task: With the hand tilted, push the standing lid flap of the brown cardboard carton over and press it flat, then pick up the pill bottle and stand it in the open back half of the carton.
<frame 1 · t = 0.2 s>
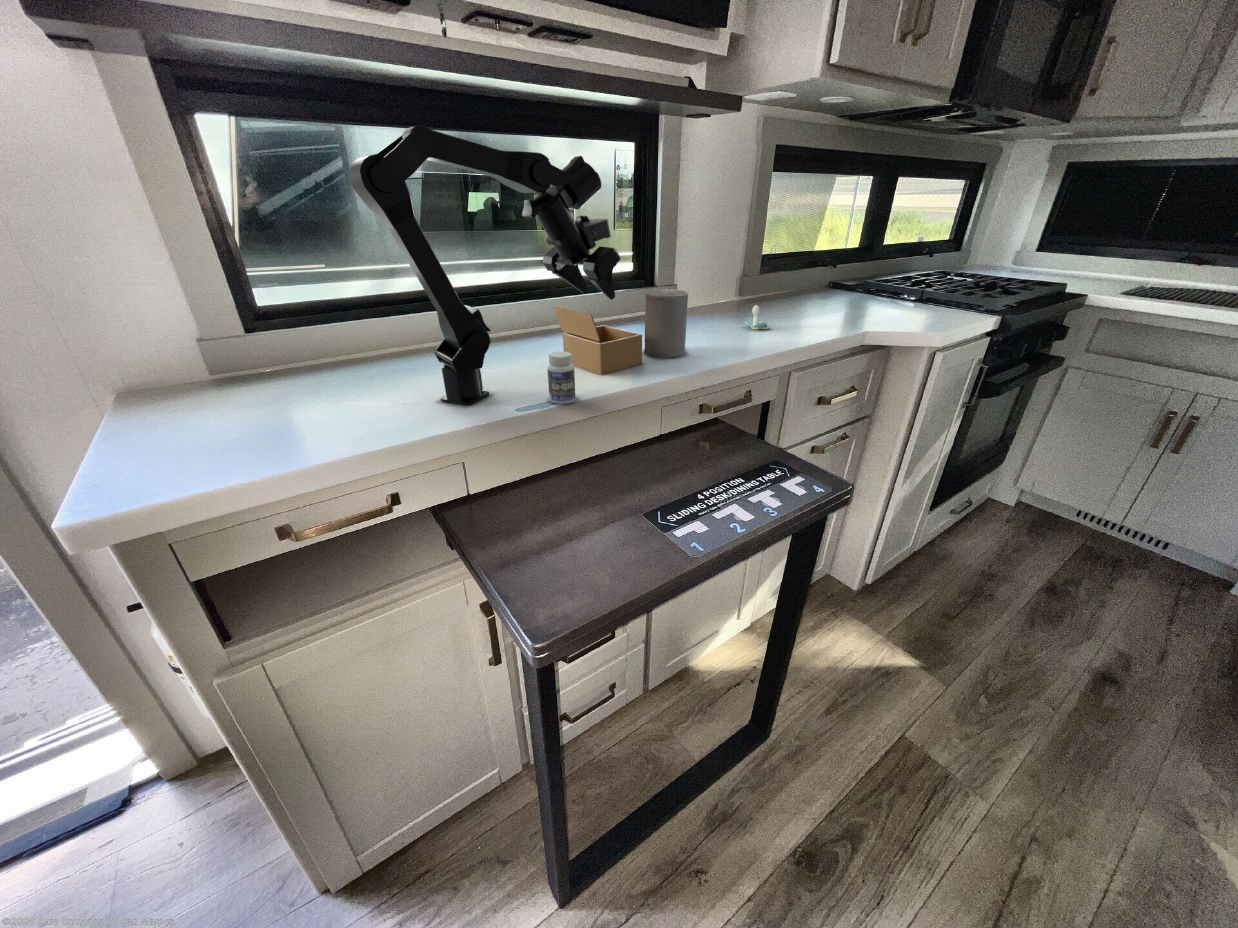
hand: (599, 295, 103), 15 cm above the worktop, tool tilted 35°, fingers open, 9 cm apart
carton: (602, 363, 112), on the worktop
flap: (576, 323, 104), point 10 cm above the worktop, hinge at 110.0°
pacifier: (757, 328, 141), on the worktop
pill bottle: (562, 400, 92), on the worktop
pillar candle: (664, 353, 119), on the worktop
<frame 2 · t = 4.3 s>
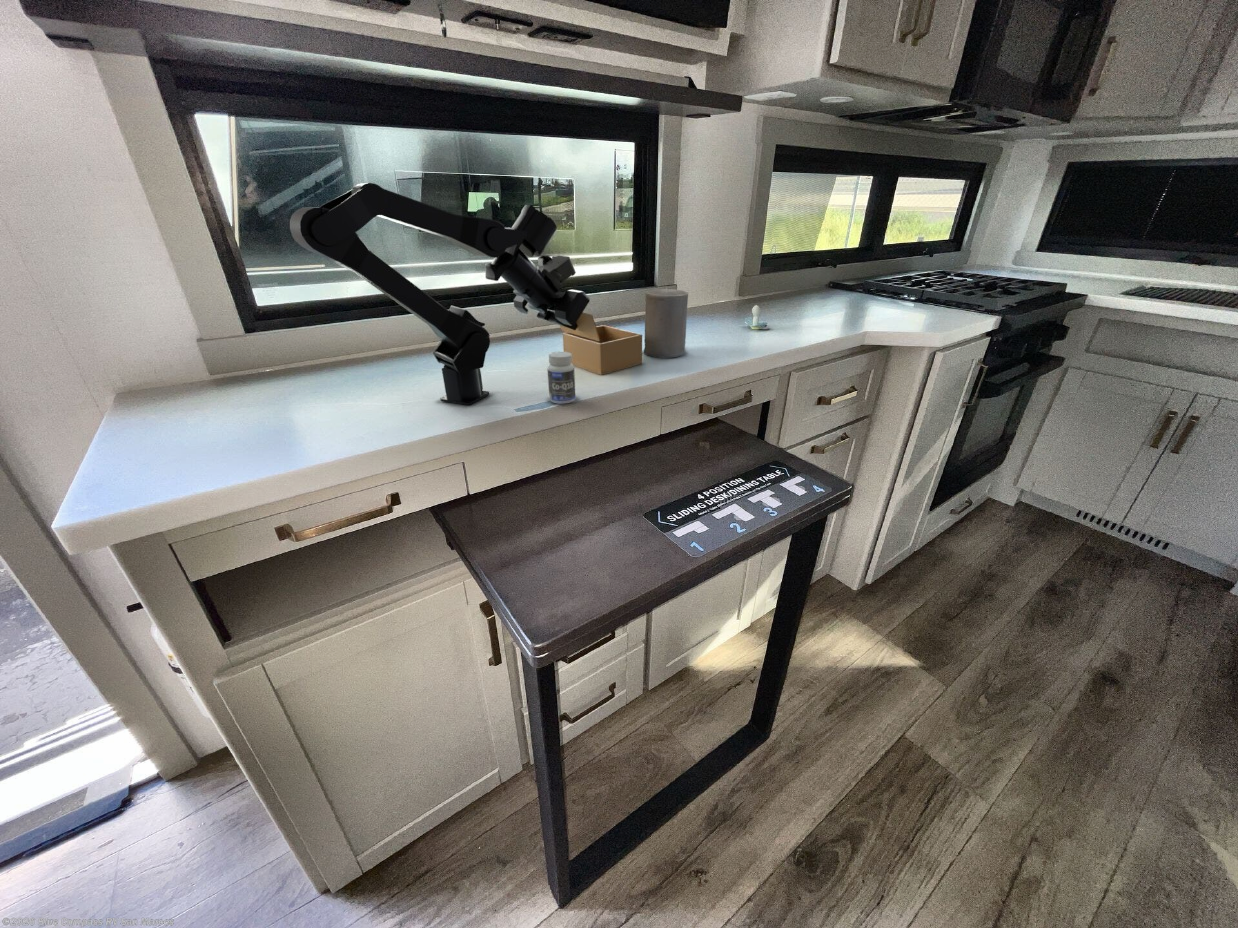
hand: (575, 328, 104), 9 cm above the worktop, tool tilted 45°, fingers closed, pressing on flap
flap: (576, 323, 104), point 10 cm above the worktop, hinge at 109.2°, touching gripper
everything else where it was.
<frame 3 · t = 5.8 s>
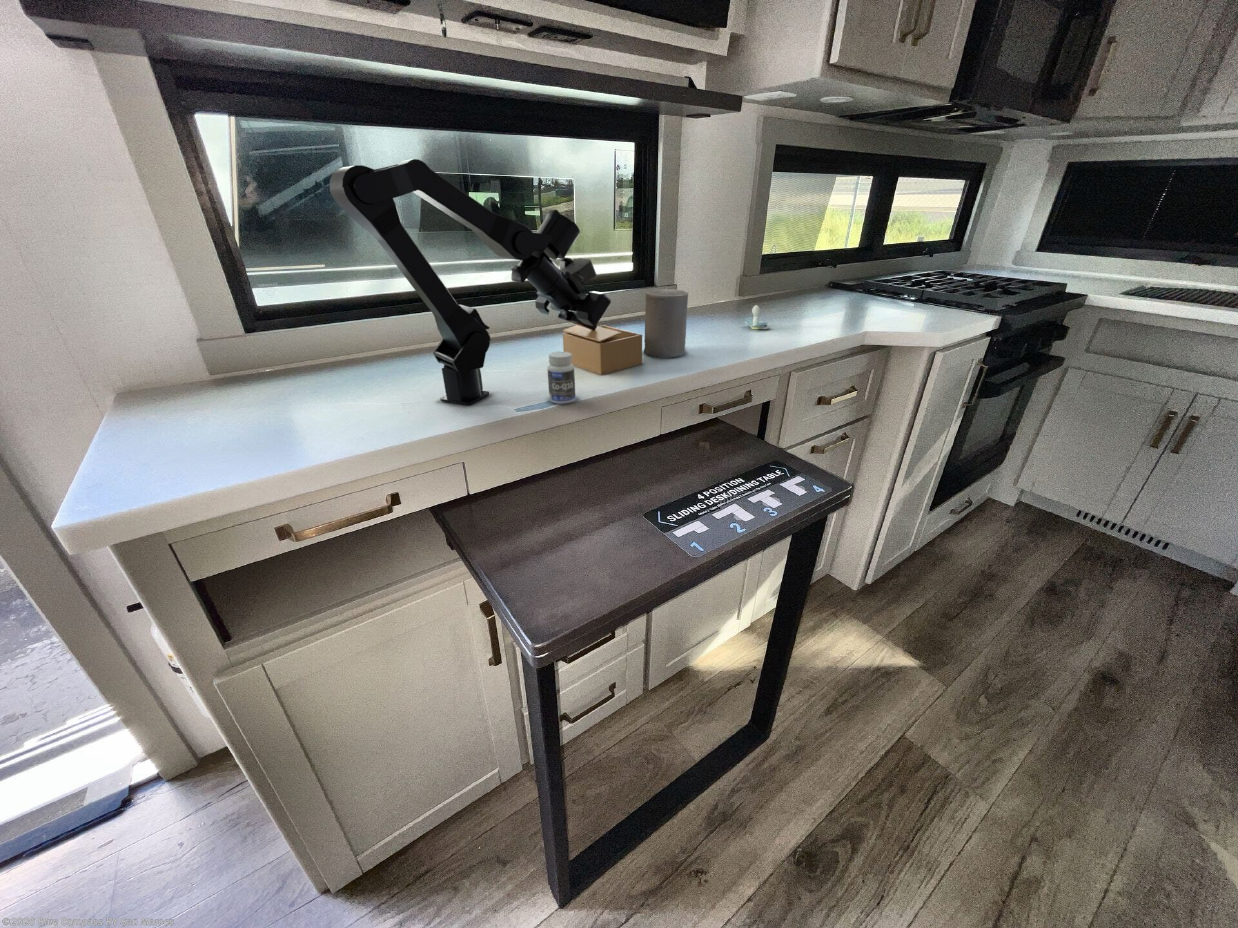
hand: (594, 328, 107), 8 cm above the worktop, tool tilted 45°, fingers closed
flap: (591, 331, 107), point 7 cm above the worktop, hinge at 7.6°
everything else where it was.
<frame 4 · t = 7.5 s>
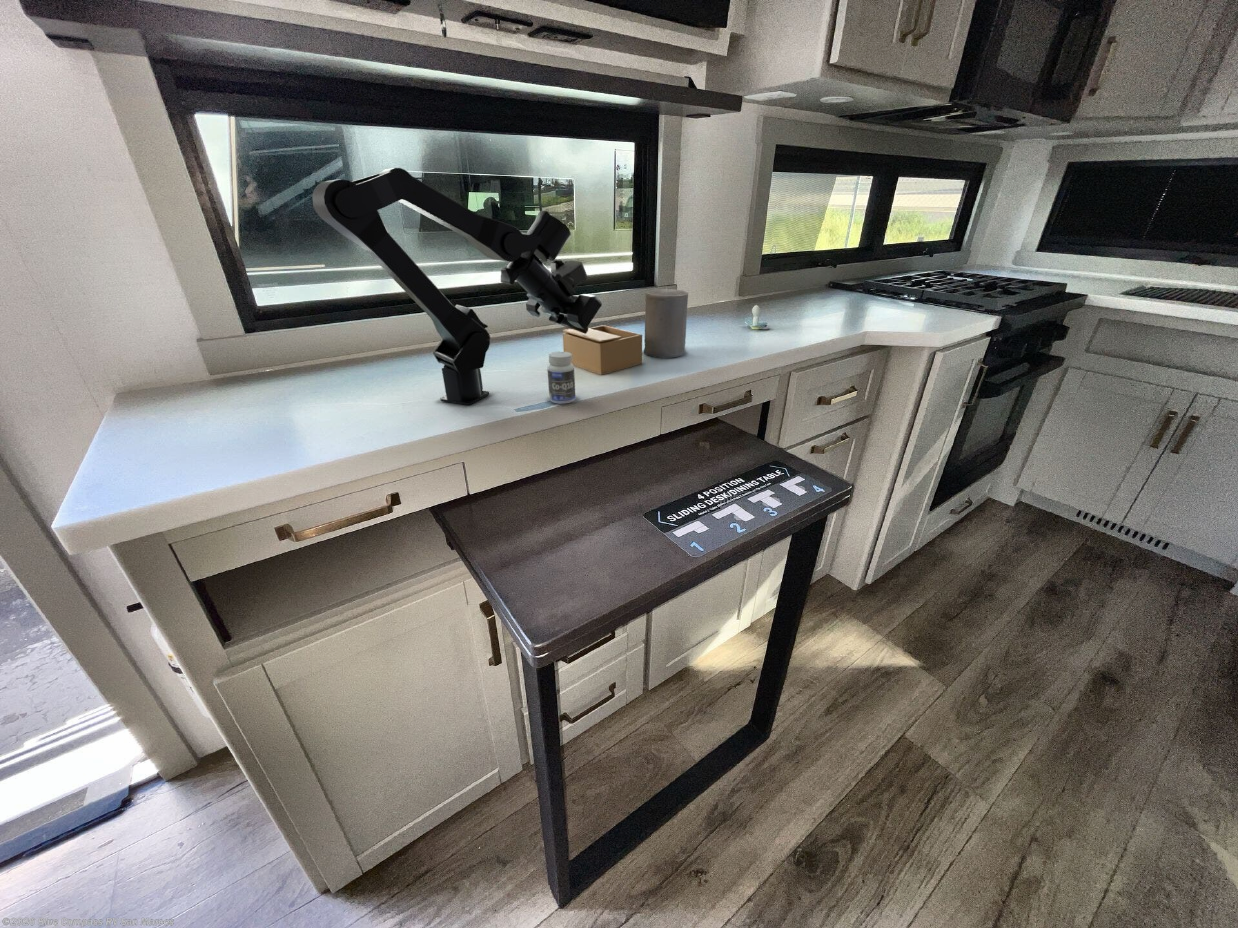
hand: (586, 331, 106), 8 cm above the worktop, tool tilted 45°, fingers closed
flap: (591, 334, 107), point 7 cm above the worktop, hinge at -1.6°
everything else where it was.
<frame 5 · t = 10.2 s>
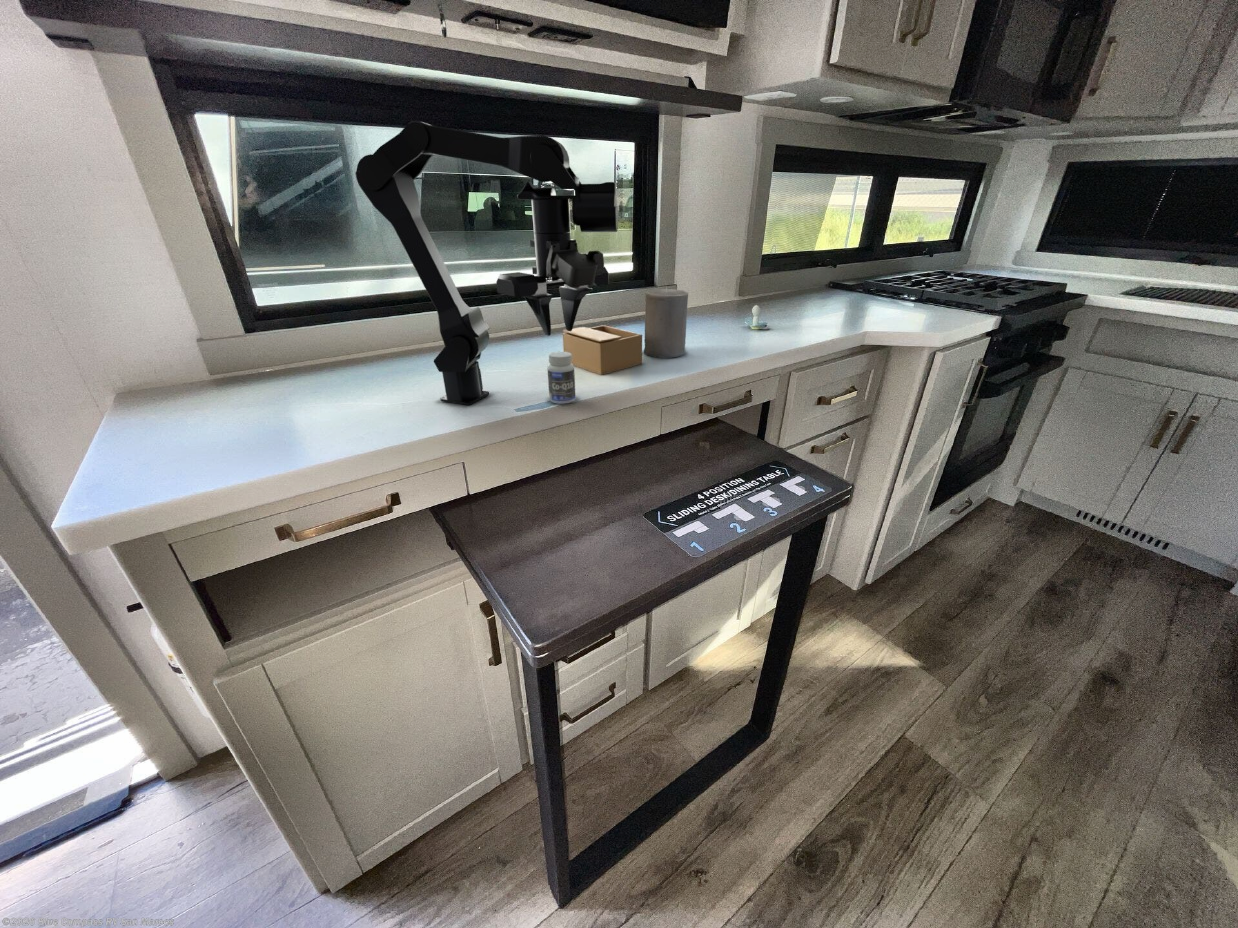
hand: (558, 333, 86), 12 cm above the worktop, tool pointing down, fingers open, 4 cm apart
nothing on the worktop moved.
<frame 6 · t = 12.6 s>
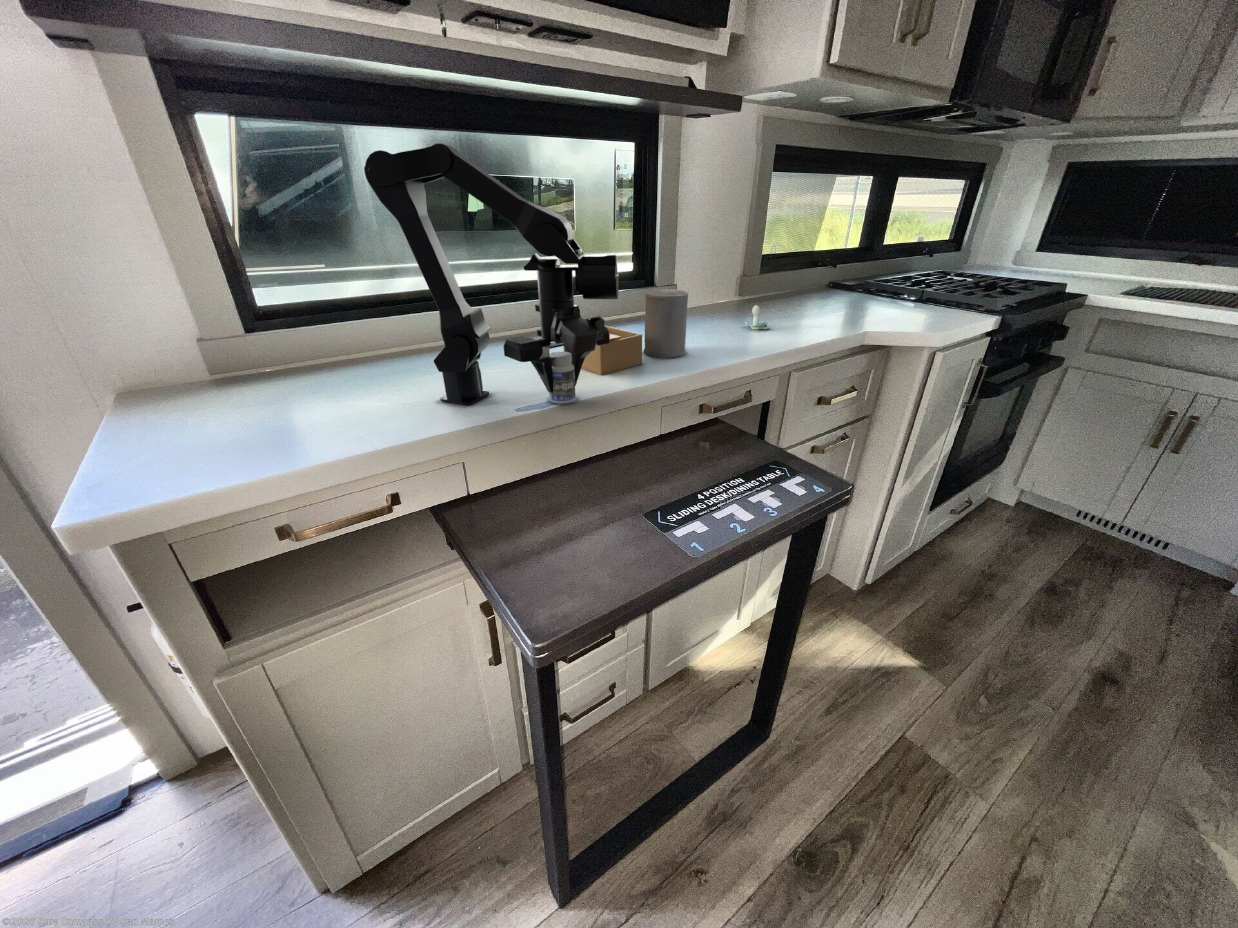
hand: (561, 389, 91), 2 cm above the worktop, tool pointing down, fingers closed on pill bottle, 5 cm apart
pill bottle: (562, 400, 92), on the worktop, touching gripper
everything else where it was.
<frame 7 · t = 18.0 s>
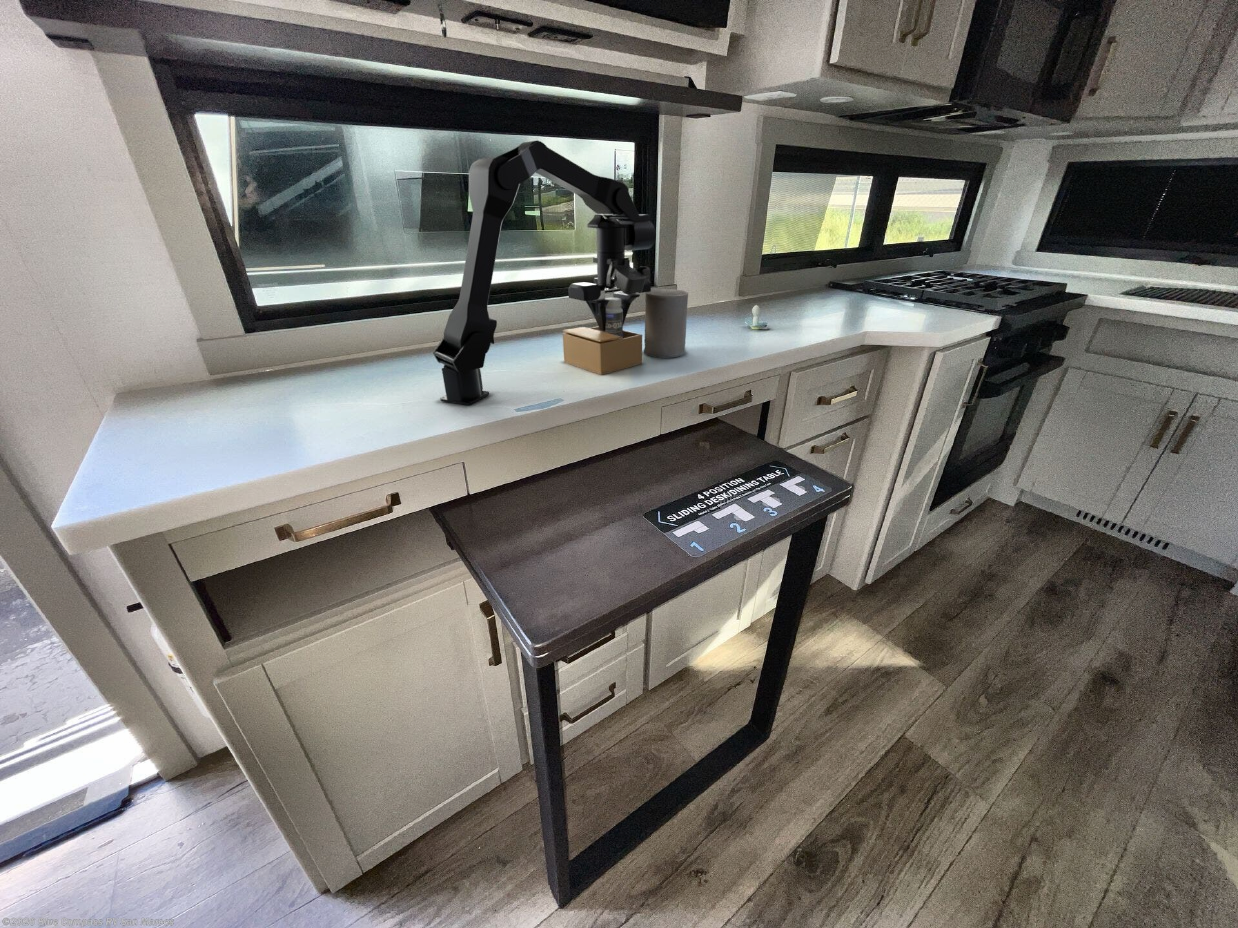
hand: (611, 329, 110), 7 cm above the worktop, tool pointing down, fingers closed on pill bottle, 5 cm apart
pill bottle: (612, 339, 111), point 5 cm above the worktop, touching gripper
everything else where it was.
when the fingers open (10 cm above the worktop, at t = 30.0 s): pill bottle drops 7 cm, resting on carton.
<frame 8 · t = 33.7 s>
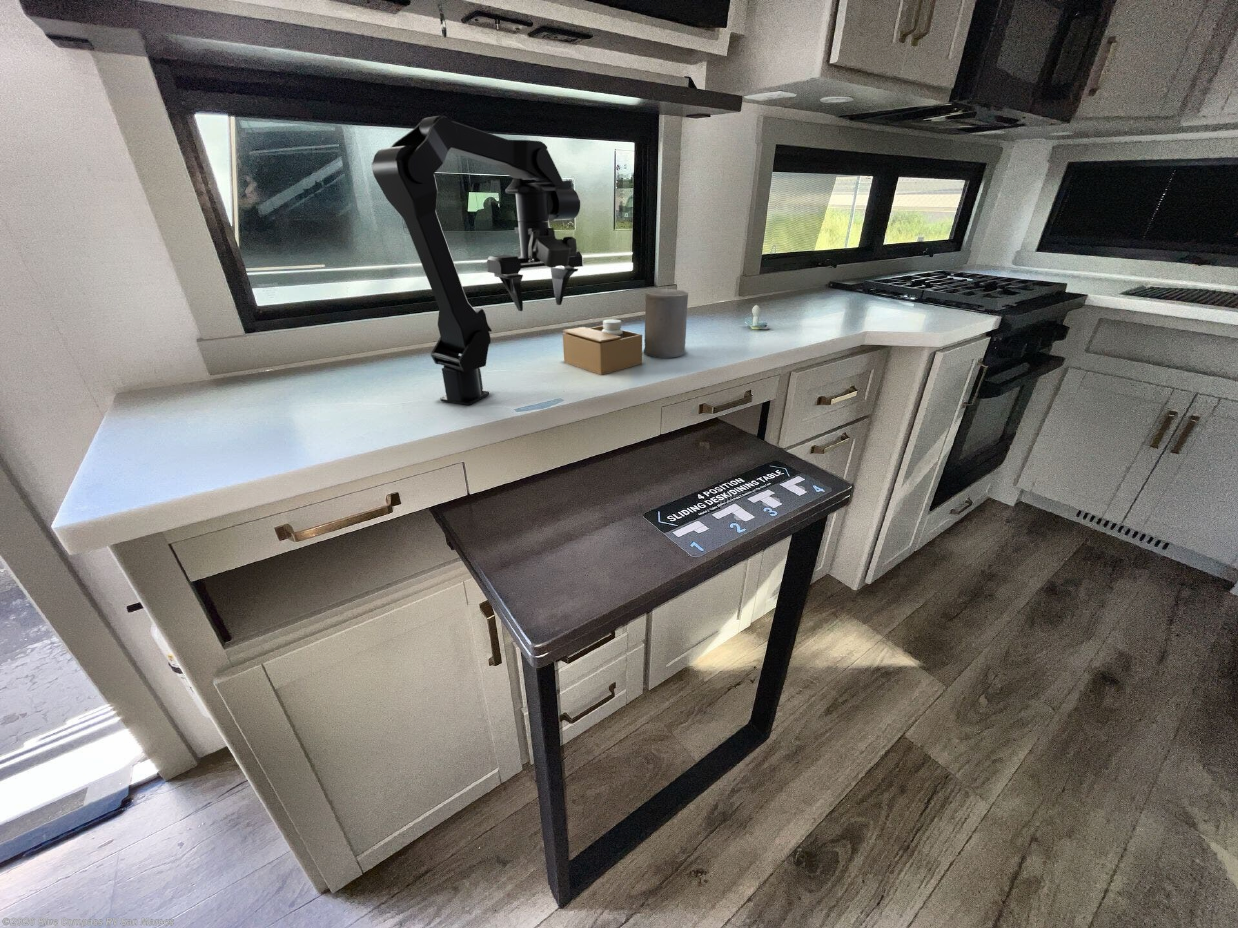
hand: (540, 307, 101), 13 cm above the worktop, tool pointing down, fingers open, 9 cm apart
pill bottle: (612, 359, 114), resting on carton
everything else where it was.
at the end: flap at -2° (first picture: +110°); pill bottle inside the target area in the carton (2.7 cm from its centre), point 0.2 cm above the carton's base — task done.
